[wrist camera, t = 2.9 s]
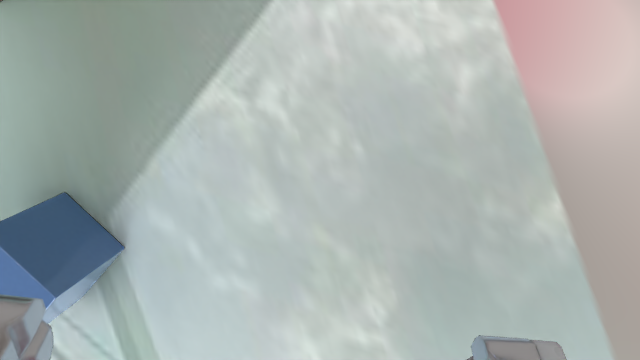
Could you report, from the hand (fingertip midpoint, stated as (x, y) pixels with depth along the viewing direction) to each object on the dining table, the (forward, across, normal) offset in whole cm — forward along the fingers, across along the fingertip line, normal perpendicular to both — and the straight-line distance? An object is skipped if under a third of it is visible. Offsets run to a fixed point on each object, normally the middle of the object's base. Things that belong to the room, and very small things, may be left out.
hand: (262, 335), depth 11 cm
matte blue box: (+23, +15, +22) cm, 36 cm away
